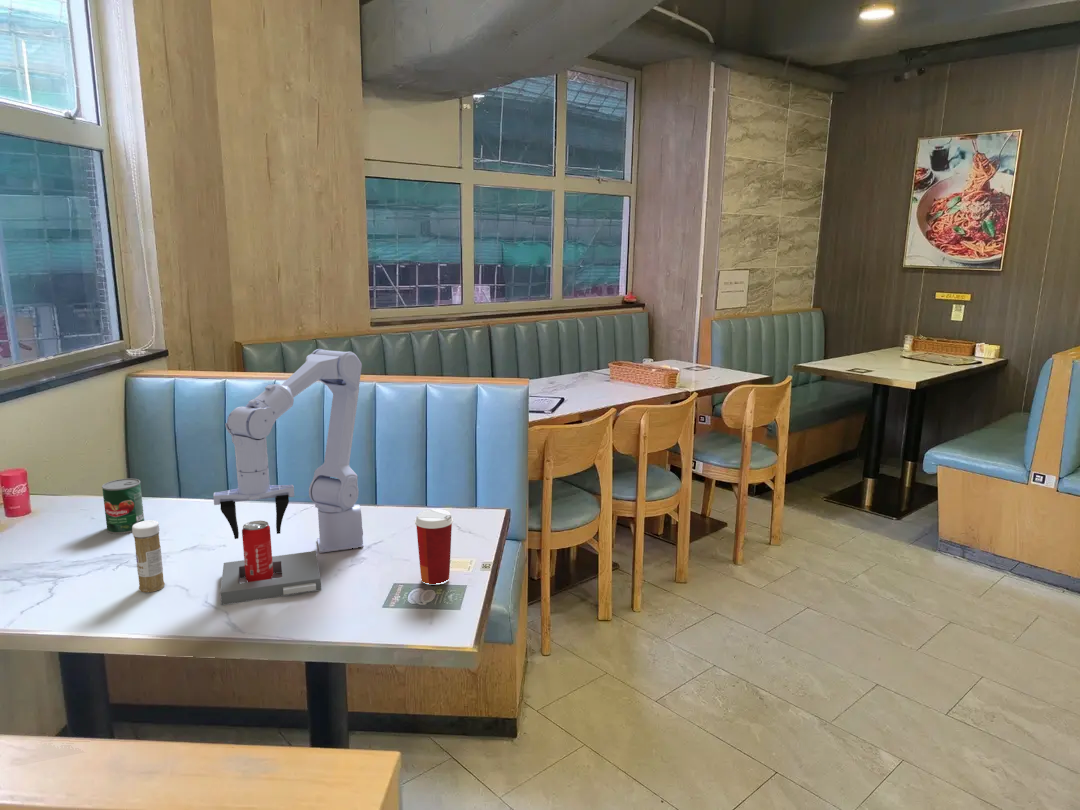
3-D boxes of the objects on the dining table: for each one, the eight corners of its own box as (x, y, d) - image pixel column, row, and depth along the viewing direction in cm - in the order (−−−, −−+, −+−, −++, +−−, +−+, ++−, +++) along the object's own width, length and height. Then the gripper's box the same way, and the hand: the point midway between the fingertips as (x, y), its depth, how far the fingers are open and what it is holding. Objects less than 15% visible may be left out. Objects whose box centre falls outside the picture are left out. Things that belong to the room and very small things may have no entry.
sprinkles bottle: (135, 588, 142) (127, 524, 139) (159, 580, 145) (152, 517, 142) (145, 595, 139) (137, 530, 136) (169, 587, 142) (162, 523, 139)
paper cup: (460, 575, 149) (459, 510, 146) (443, 591, 142) (442, 524, 139) (426, 569, 151) (425, 506, 149) (408, 584, 144) (406, 518, 141)
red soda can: (264, 588, 142) (259, 530, 140) (240, 585, 143) (236, 528, 141) (278, 576, 147) (274, 521, 145) (256, 574, 148) (251, 519, 146)
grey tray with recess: (316, 561, 154) (315, 550, 154) (321, 592, 141) (321, 581, 140) (224, 574, 148) (223, 562, 148) (221, 608, 134) (220, 595, 134)
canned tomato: (106, 536, 167) (101, 491, 165) (107, 525, 174) (101, 481, 171) (145, 530, 171) (140, 485, 168) (144, 519, 177) (139, 476, 175)
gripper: (210, 478, 133) (216, 547, 136) (293, 470, 138) (297, 537, 141) (212, 467, 140) (218, 533, 142) (291, 460, 145) (295, 524, 148)
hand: (257, 534), depth 142 cm, fingers open, 7 cm apart
